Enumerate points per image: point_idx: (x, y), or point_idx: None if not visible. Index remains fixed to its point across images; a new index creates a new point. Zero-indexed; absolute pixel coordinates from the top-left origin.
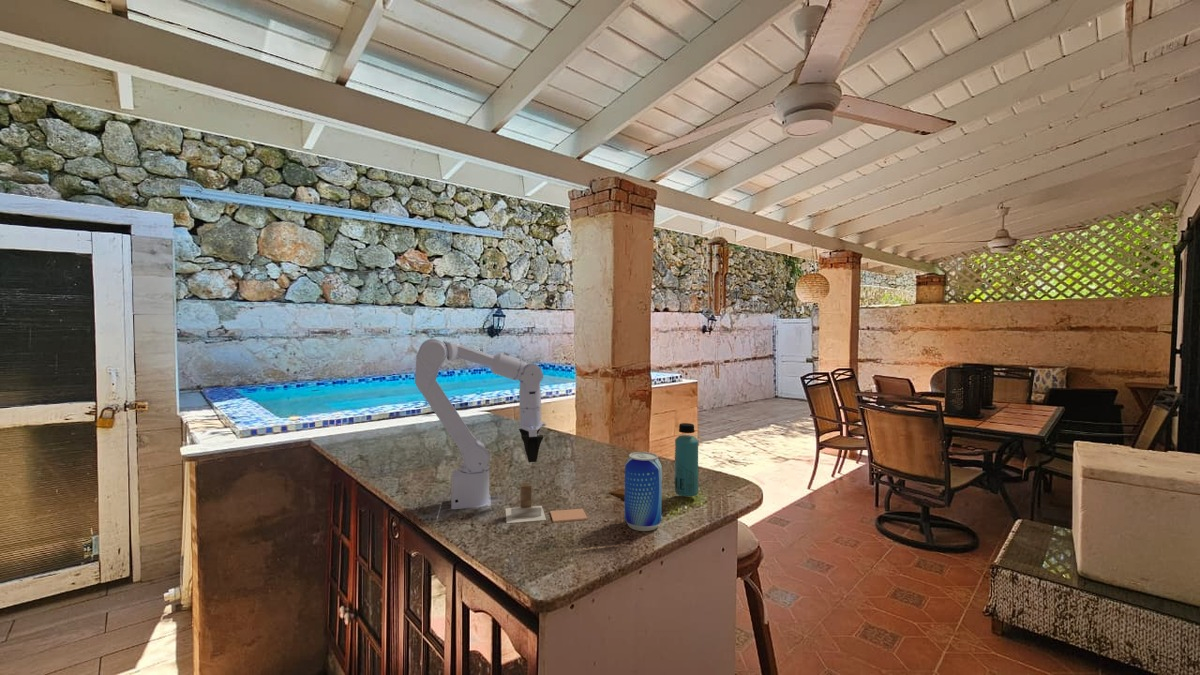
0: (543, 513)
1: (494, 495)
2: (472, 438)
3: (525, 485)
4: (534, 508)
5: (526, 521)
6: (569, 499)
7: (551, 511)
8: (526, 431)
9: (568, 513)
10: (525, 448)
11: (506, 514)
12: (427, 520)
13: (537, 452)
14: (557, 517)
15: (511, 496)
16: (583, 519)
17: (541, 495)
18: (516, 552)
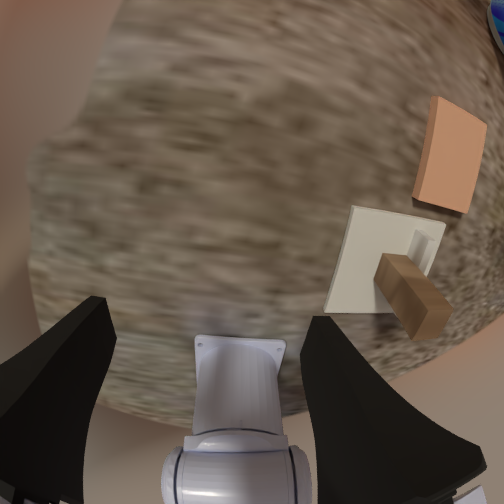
0: (412, 219)
1: (182, 322)
2: None
3: (437, 326)
4: (428, 260)
5: (428, 271)
6: (308, 80)
7: (422, 197)
8: (58, 485)
9: (452, 155)
10: (103, 376)
11: (366, 311)
12: (299, 412)
13: (367, 367)
14: (458, 195)
15: (202, 280)
16: (483, 134)
17: (221, 176)
18: (489, 295)
